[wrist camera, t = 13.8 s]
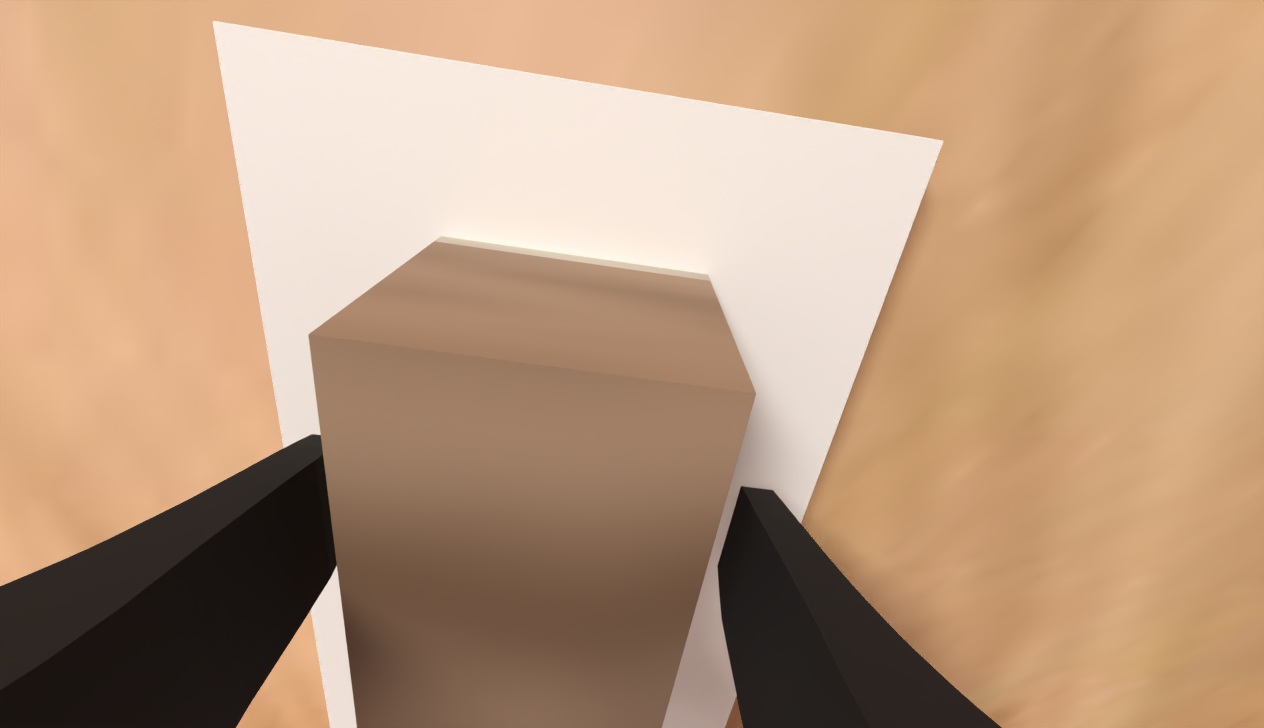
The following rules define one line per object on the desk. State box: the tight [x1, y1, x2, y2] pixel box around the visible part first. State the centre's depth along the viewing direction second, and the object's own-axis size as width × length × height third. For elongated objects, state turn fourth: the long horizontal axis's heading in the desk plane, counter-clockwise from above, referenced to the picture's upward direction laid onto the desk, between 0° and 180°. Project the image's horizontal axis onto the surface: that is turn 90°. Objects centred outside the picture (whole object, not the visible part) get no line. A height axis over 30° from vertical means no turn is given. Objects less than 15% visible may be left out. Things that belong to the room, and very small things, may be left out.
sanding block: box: [308, 236, 756, 728], centre depth 10 cm, size 8×5×5 cm, turn 172°
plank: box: [213, 21, 943, 728], centre depth 15 cm, size 26×12×1 cm, turn 172°
